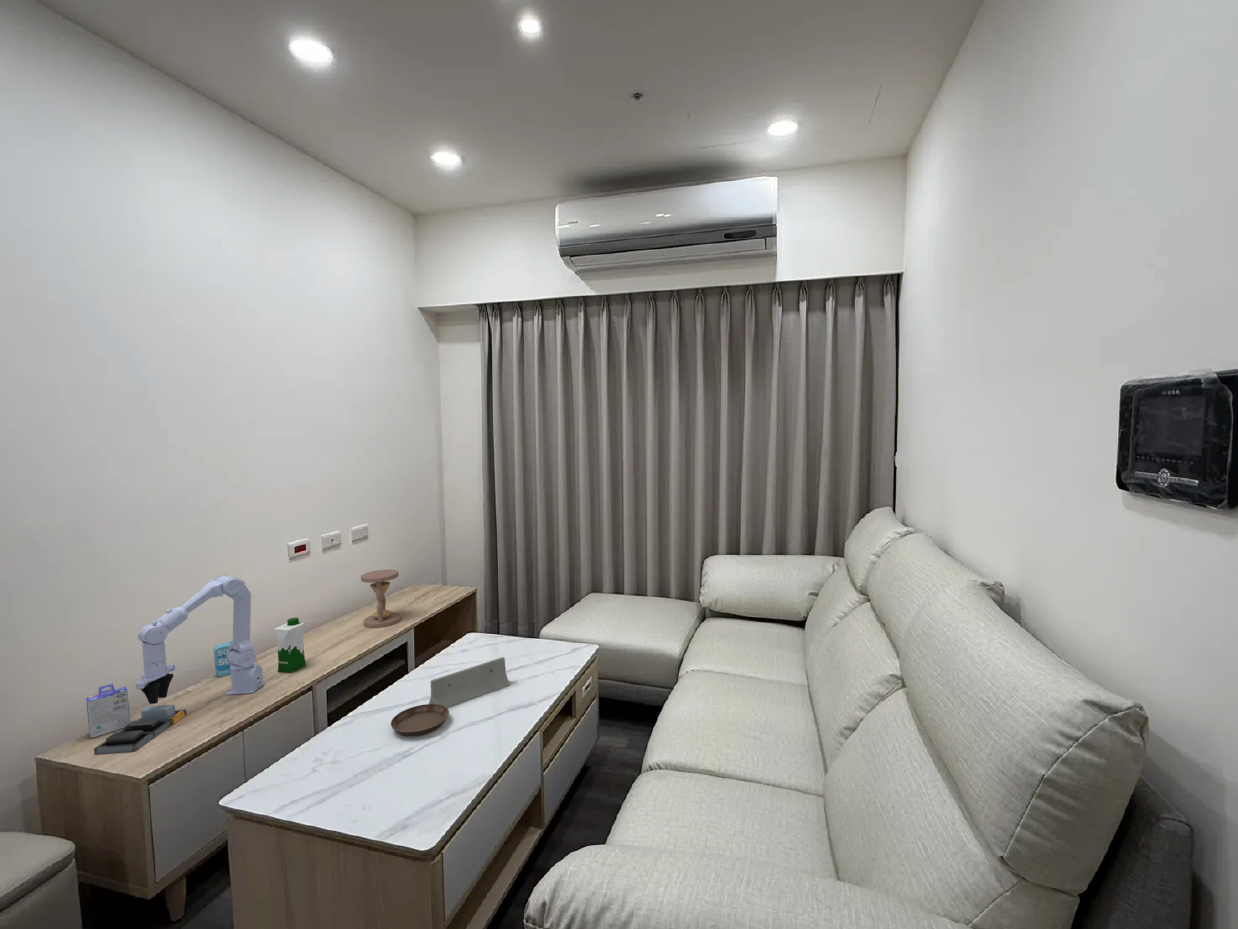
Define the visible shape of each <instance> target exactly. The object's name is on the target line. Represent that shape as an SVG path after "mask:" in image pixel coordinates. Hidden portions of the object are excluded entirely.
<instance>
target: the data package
mask: <svg viewBox="0 0 1238 929" xmlns="http://www.w3.org/2000/svg"><path fill="white" fill-rule="evenodd" d="M232 642H233V640H232V641H229V642H225V643H219V644H216V645H215V646H214V648H213V654H214V655H213V656H214V659H213V660H214V668H215V669H214V670H215V674H216V676H217V677H219V678H220V677H225V676H231V671H230V667H231V664H230V663H228V661H227V659H226V656H227V653H228V652H229V646H230V644H231V643H232Z"/></svg>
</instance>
